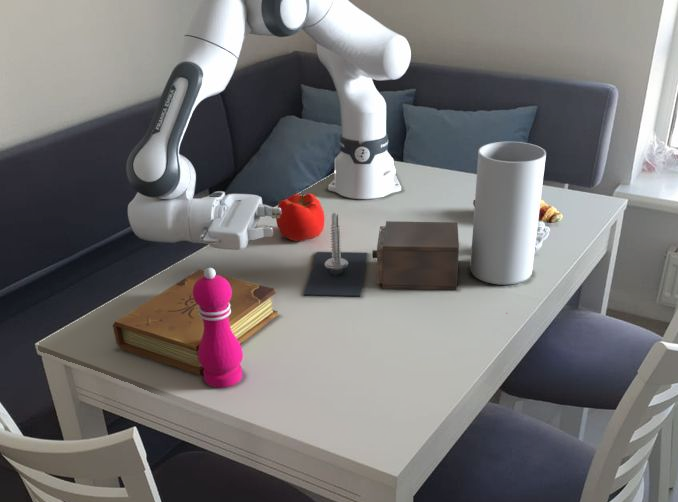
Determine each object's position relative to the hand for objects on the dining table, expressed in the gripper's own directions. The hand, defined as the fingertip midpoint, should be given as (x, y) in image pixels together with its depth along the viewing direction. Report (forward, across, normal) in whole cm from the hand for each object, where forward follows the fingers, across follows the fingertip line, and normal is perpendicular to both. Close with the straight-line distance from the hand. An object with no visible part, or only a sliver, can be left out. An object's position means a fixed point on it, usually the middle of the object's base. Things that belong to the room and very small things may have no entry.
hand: (277, 221), depth 159 cm
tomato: (+2, +19, +11) cm, 22 cm away
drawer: (+26, 0, +10) cm, 28 cm away
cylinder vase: (+45, +2, +12) cm, 47 cm away
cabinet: (+29, 0, +11) cm, 31 cm away
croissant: (+51, +31, +12) cm, 61 cm away
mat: (+12, 0, +11) cm, 16 cm away
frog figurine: (+52, +12, +12) cm, 55 cm away
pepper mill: (-3, -40, +11) cm, 42 cm away
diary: (-11, -25, +11) cm, 30 cm away
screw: (+12, 0, +11) cm, 16 cm away
